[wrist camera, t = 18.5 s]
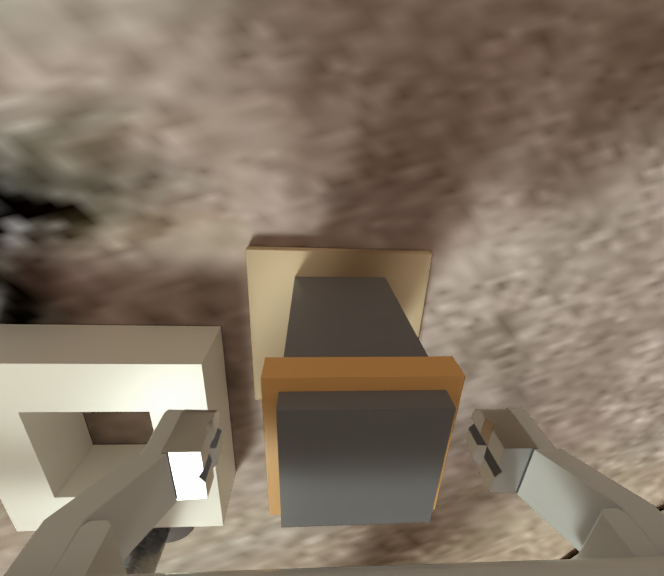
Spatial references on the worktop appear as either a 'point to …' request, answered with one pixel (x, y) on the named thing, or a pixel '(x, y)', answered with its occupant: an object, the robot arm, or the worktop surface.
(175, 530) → the post
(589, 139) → the worktop surface
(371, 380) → the plug
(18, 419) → the socket
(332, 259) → the coaster
